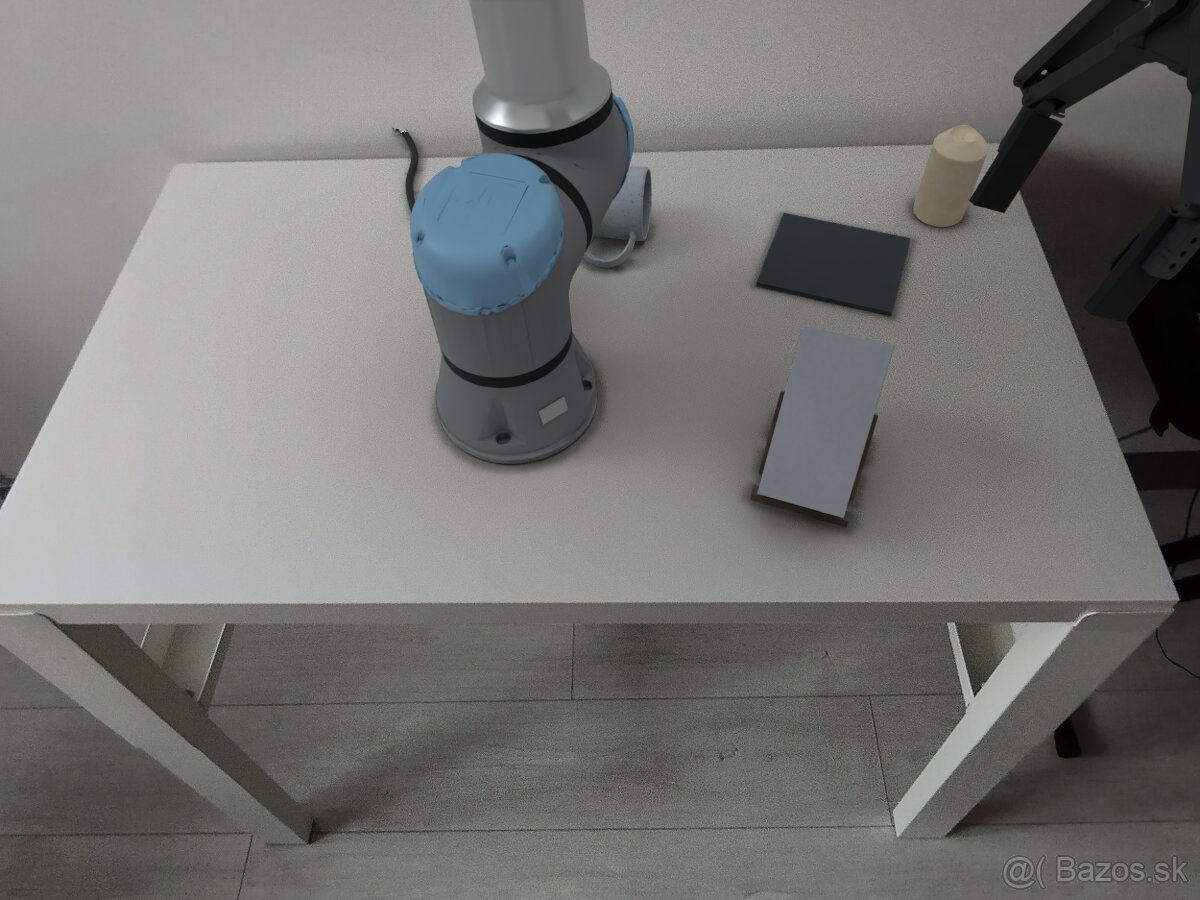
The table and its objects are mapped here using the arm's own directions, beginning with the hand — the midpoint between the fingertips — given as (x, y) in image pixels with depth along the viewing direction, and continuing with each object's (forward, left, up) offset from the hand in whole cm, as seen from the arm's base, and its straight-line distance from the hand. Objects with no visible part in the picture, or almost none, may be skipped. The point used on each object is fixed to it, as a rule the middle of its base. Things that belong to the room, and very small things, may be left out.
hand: (1039, 256), depth 54 cm
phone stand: (-7, -8, -26) cm, 28 cm away
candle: (-22, +29, -25) cm, 44 cm away
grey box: (-7, -8, -25) cm, 27 cm away
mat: (-24, +14, -25) cm, 37 cm away
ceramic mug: (-43, -1, -25) cm, 50 cm away
